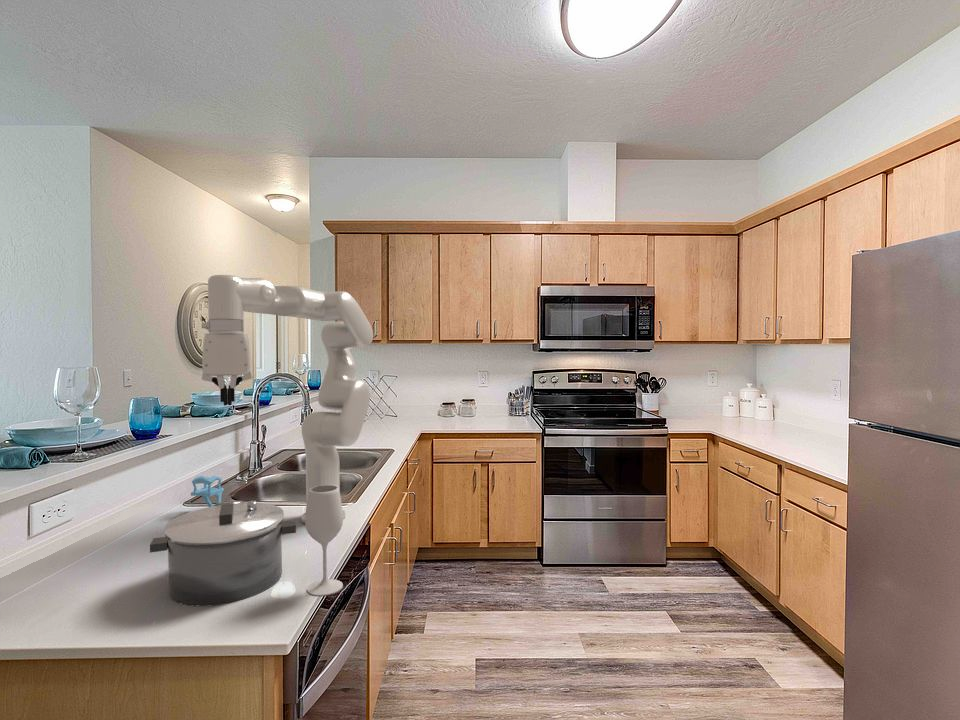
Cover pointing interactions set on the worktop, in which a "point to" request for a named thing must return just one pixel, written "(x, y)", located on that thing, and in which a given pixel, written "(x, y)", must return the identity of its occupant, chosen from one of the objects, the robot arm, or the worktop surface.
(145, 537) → the worktop surface
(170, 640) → the worktop surface
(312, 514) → the wineglass
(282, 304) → the robot arm
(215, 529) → the lid
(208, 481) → the light blue angular piece
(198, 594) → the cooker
